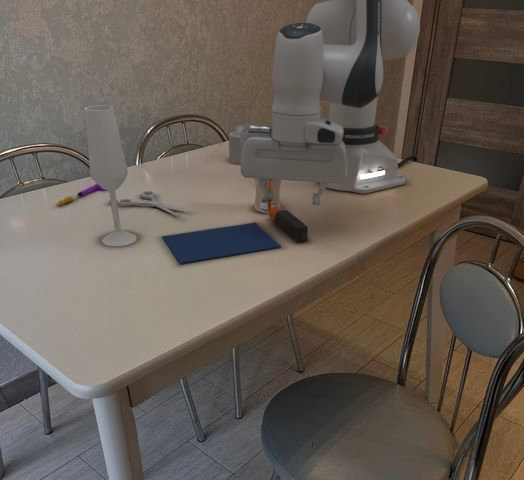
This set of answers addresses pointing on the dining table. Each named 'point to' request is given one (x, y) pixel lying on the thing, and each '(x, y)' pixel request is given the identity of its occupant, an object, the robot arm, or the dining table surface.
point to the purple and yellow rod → (80, 194)
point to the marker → (289, 224)
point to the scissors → (153, 203)
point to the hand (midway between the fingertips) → (292, 202)
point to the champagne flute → (107, 163)
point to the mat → (219, 243)
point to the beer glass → (259, 200)
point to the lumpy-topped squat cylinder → (236, 145)
